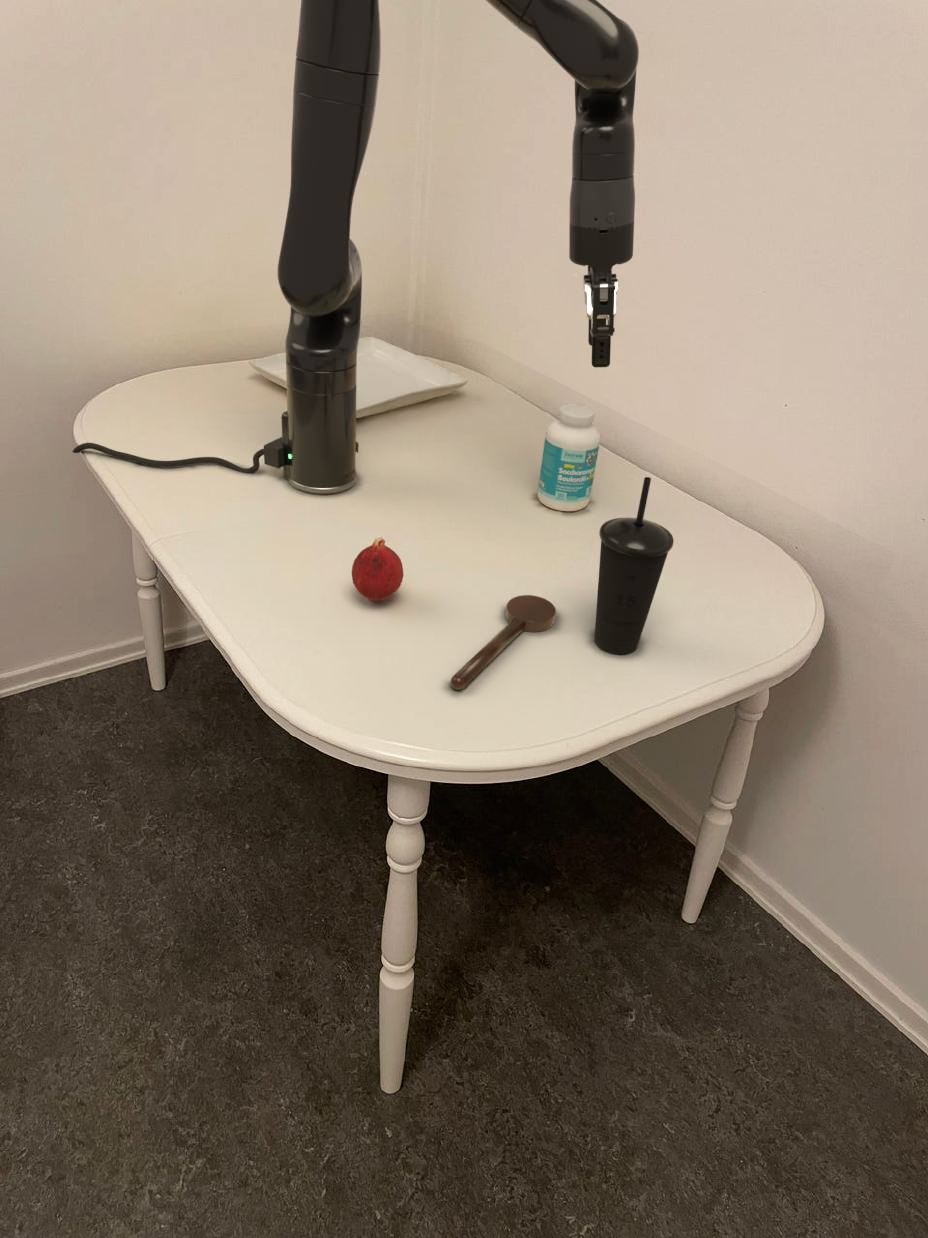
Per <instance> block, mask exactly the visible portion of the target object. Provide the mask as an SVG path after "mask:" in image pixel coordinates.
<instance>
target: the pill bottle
mask: <svg viewBox="0 0 928 1238" xmlns="http://www.w3.org/2000/svg"><path fill="white" fill-rule="evenodd" d="M557 416H558V419H557V420H555V421H553V422H551V423H550V424H549V425H548V427H546V431H545V437H544V446H543V451H542V458H541V464H540V472H539V479H538V485H537V493H536V494H537V499H538V501H540V503H541V504H542V505H544V506H546V507H548V508H549V509H552V510H555V511H561V512H575V511H580V510H582V509H584V508H586V507H587V506H588V505H589V503H590V500H591V495H592V490H593V484H594V479H595V478H594V477H595V472H596V466H597V461H598V455H599V449H600V445H601V433H600V431H599V429H598V428H597V427H596V426H595V425H594V424H593V422H594V420H595V419H594V418H595V411H594V410H593V409H592V408H591V407H589V406H586V405H582V404H577V403H567V404H563V405H561V406H560V407H559V410H558V415H557Z"/></svg>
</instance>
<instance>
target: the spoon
mask: <svg viewBox="0 0 928 1238" xmlns="http://www.w3.org/2000/svg"><path fill="white" fill-rule="evenodd" d="M556 610H557V609H556V606H555V605H554V604H553V603H552V602H551V601H550V600H548V599H546V598H544V597H542V596H538V595H533V594H532V595H531V594H523V595H517V596H514V597H512V598H511V599H509V601H508V602H507V603H506V607H505V620H506V622H507V624H506V625H505V627H504V628H502V629H501V630H500V631H499V632H498V633H497V634H496V635H495V636H494V637H493V638H491V640H489V641H488V642H487V643H486V644H485V645H484V646H483V647H482V648H481V649H480V650H479V651H478V652H477V653H476V654H474V655H473V657H472V658H470V659H469V660H468V661H467V662H466V663H465V664H464V665H463V666H462V667H461V668H460V669H459V670H458V671H456V672H455V674H453V675H452V677H451V678H450V686H451V687H452V688H453V689H454V690H457V691H461V690H464V688H465V687H466V686H467V685H468V684H470V682H472V681H473V679H475V678H476V677H477V676H478V675H479V673H481V672H482V671H483V670H484V669H485V668H486V667H487V666H488V665H489V664H490V663H491V662H492V661H493V660H494V659H496V658H497V656H498V655H499V654H500V653H501V652H502V651H503V650H504V649H505V648H506V647H507V646H508V645H509V644H510V643H511V642H512V641H514V640H515V638H516V637H518V636H519V635H520V634H521V633H522V632H526V633H527V632H529V633H540V632H544V631H547V630H549V629H551V628H552V627H553V626H554V624H555V620H556V612H557V611H556Z"/></svg>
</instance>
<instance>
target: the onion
mask: <svg viewBox="0 0 928 1238" xmlns="http://www.w3.org/2000/svg"><path fill="white" fill-rule="evenodd" d="M385 544H386V540H385V539H384V538H382V537H378V538H375V539H374V541H373V543H372V544H371V545H369V546H367V547H365V548H364V549H362V550H361V551H360V552H359V553H358V554H357V556H356V557H355V558H354V561H353V563H352V567H351V578H352V584H353V586H354V587H355V589H356V590H357V592H358V593H359V594H360V595H362V596H363V597H365V598H367V599H369V600H371V601H374V602H381V601H383V600H385V599H387V598H389V597H390V596H392V595H393V594H395V593H396V592H397V591H398V590H399V588H400V587H401V585H402V583H403V579H404V567H403V562H402V559H401V558H400V556H399V555H398V554H397V553H396V551H394V550H393V549H392V548H390V547H389V546H387V545H385Z"/></svg>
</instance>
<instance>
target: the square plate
mask: <svg viewBox="0 0 928 1238" xmlns="http://www.w3.org/2000/svg"><path fill="white" fill-rule="evenodd" d="M248 365H250V366H251V367H252V368H253V369H254V370H255V371H256V372H257V373H258V374H260V376H262V377H264V378H266V379H267V380H269V381H271V382H273V383H274V384H277V385H279V386H281V387H282V388H284V389H285V390H287V383H286V352H280V353H276V354H271V355H267V356H264V357H259V358H255V359H251V360H248ZM468 382H469V380H468V379H467V378H465V377H464V376H461V375H459V374H457V373H455V372H453V371H451V370H449V369H447V368H444V367H442V366H440V365H438V364H436V363H434V362H433V361H430V360H428V359H426V358H423V357H422V356H419V355H418V354H415V353H412V352H411V351H408V350H405V349H403V348H401V347H398V346H397V345H394V344H391V343H389V342H387V341H384V340H381V339H379V338H377V337H374V336H365V337H359V341H358V347H357V377H356V419H361V418H365V417H369V416H373V415H378V414H381V413H386V412H390V411H393V410H396V409H400V408H404V407H408V406H412V405H415V404H420V403H424V402H426V401H428V400H431V399H435V398H438V397H439V398H440V397H442V396H446V395H449V394H452V393H454V392H456V391H458V390H459V389H461V388H463V387H464V386H466V385H467V383H468Z"/></svg>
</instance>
